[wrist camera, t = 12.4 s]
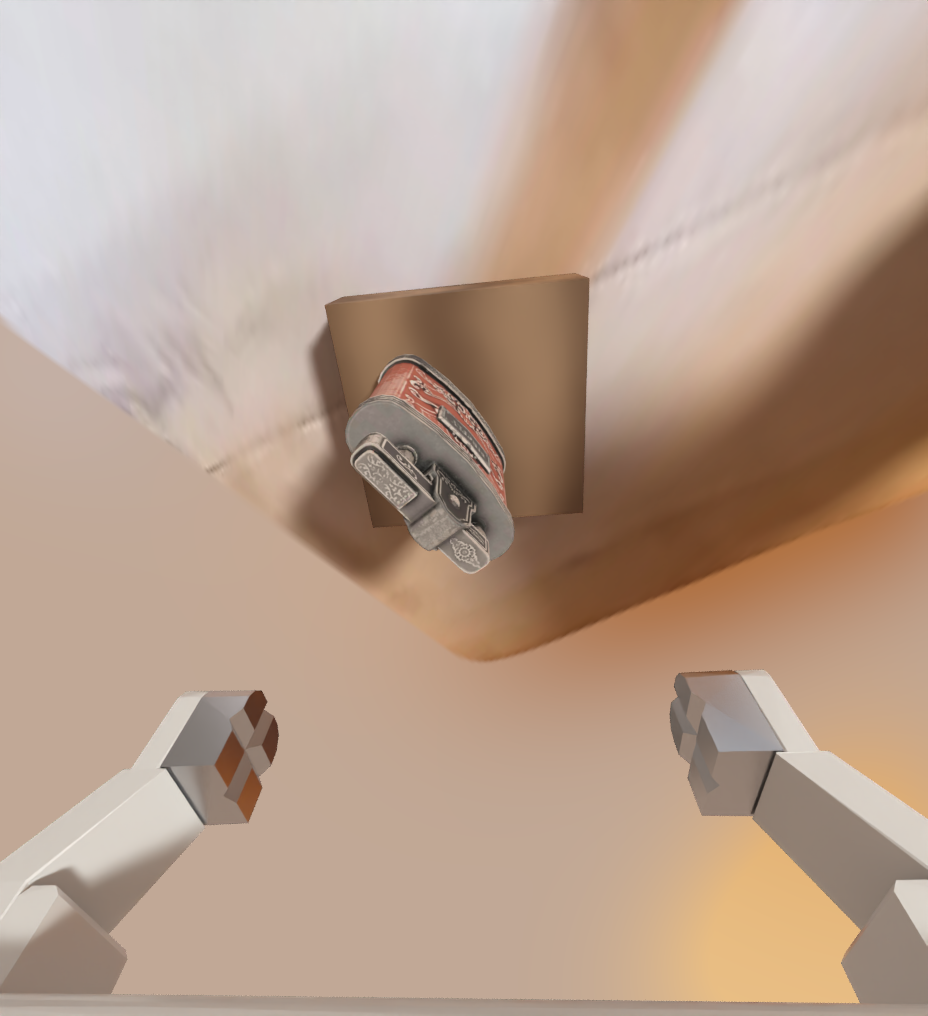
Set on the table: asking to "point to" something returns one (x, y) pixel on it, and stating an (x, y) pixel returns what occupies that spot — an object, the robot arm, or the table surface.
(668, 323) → the table surface
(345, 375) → the walnut base
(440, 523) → the lighter
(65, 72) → the table surface
